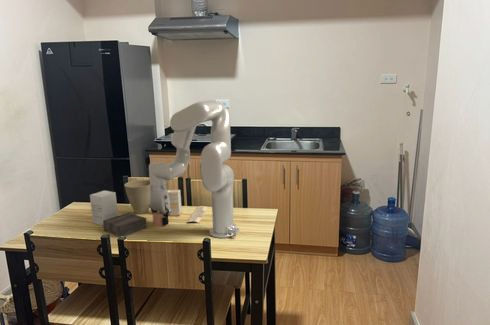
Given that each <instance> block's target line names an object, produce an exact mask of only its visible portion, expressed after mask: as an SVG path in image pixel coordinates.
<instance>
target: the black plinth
mask: <svg viewBox="0 0 490 325" xmlns="http://www.w3.org/2000/svg"><path fill="white" fill-rule="evenodd" d="M103 225H104V226H103V232H104V231H105V232H107V233H109V234H112V235H114V236H117V237H119V236H124V237H126V236H128V235H131V234H135V233H137V232H140V231H142V230H145V229H147V217H143V216H141V215H139V214H136V213H132V212H129V211H128V212H126V213H122V214H120V215H119V214H118V216H116V217H113V218H110V219H107V220H103Z"/></svg>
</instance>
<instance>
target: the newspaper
mask: <svg viewBox="0 0 490 325" xmlns="http://www.w3.org/2000/svg"><path fill="white" fill-rule="evenodd" d="M207 207H208V206H205V205H200V206H197V207H196V208H195V209H194V211H193V212H192V214H191V215H190V217H189V219H188V220H187V222H186V223H191V222H195V223H197V224H199V223H200V222H201V220H202V218H203V217H204V215H205V213H206V212H207V210H208V208H207ZM206 209H207V210H206Z"/></svg>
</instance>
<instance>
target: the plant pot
mask: <svg viewBox="0 0 490 325" xmlns="http://www.w3.org/2000/svg"><path fill="white" fill-rule="evenodd" d="M124 189H125V192H126V195H127V200H128V201H129V204H130V206H131V208H132V210H133V213H134V214H135V215H142V214H146V213H149V210H150V207H149V204H150V191H151V189H150V179H139V180H132V181H128V182H126V183H124Z"/></svg>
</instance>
